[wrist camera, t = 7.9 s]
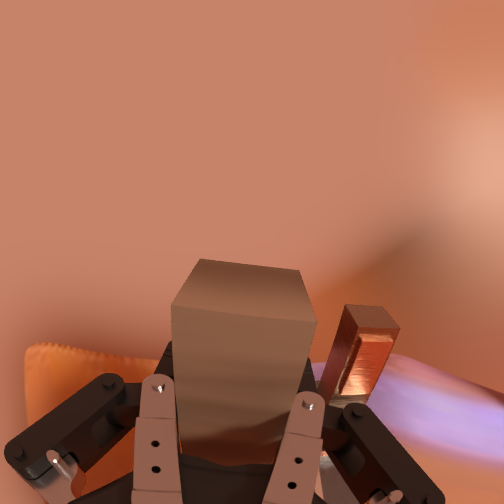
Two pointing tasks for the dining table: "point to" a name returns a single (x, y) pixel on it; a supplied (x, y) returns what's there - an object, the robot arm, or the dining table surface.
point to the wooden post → (238, 358)
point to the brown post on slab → (352, 379)
